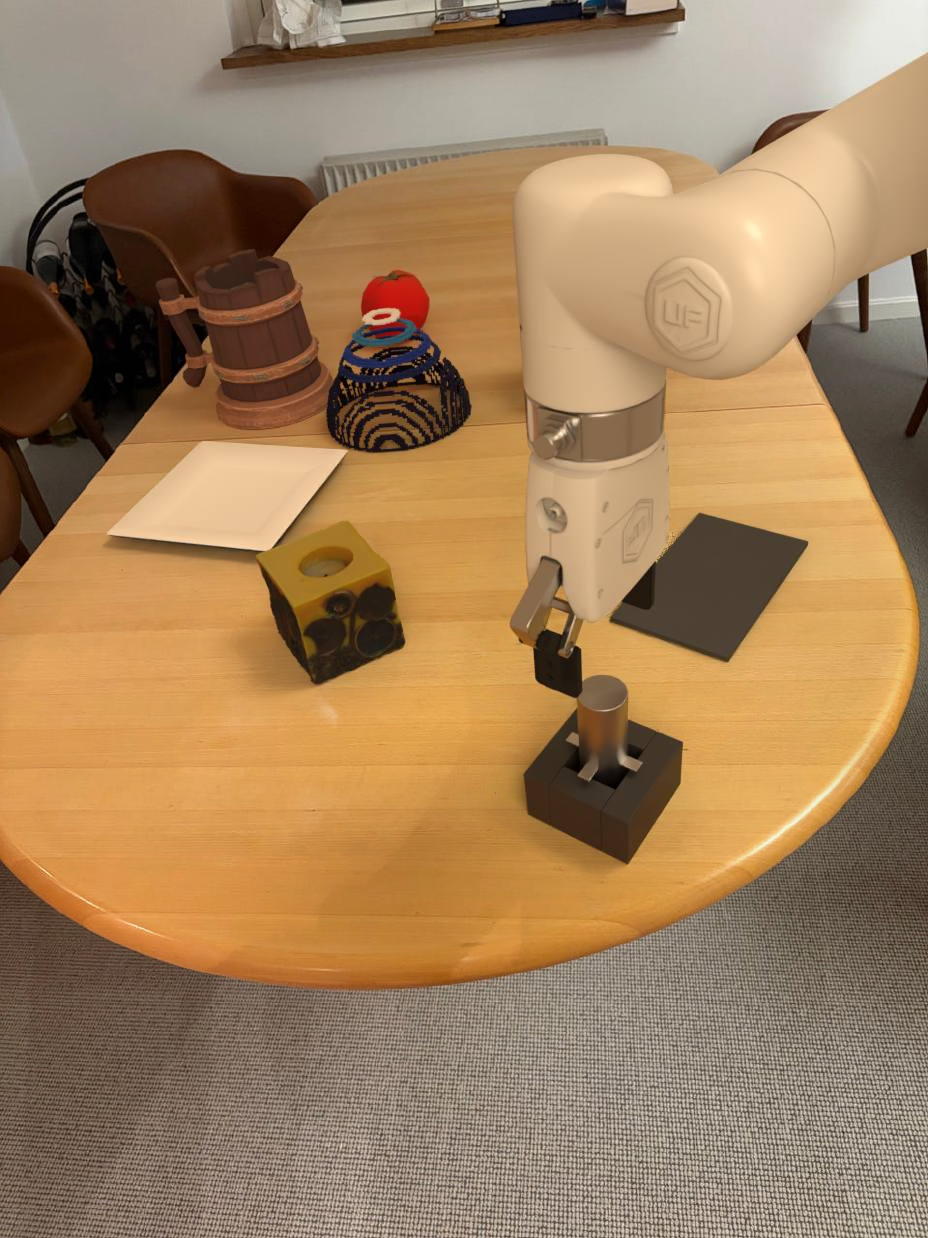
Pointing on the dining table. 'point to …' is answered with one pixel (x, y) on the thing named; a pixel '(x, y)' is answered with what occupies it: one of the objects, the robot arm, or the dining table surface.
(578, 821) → the dark square ring block
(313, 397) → the mug
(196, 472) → the plate
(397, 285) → the tomato
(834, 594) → the dining table surface
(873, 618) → the dining table surface
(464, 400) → the decorative bowl
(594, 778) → the bronze metal rod
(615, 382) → the robot arm
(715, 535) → the mat
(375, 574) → the candle
